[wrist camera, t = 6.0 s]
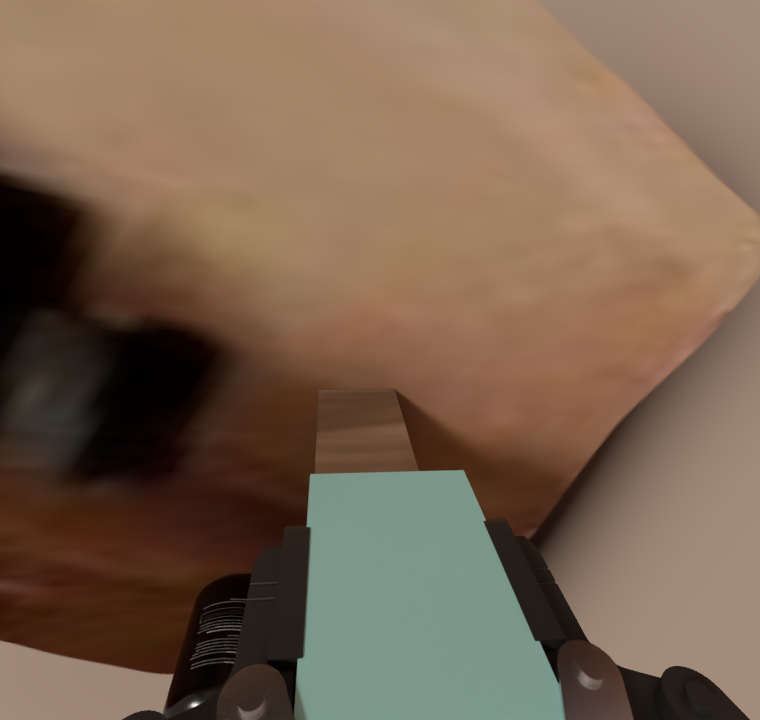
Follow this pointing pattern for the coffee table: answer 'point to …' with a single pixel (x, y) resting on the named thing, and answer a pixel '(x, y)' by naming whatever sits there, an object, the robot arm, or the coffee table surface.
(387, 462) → the domino
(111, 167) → the coffee table surface
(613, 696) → the robot arm
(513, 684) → the domino
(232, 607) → the supplement bottle
